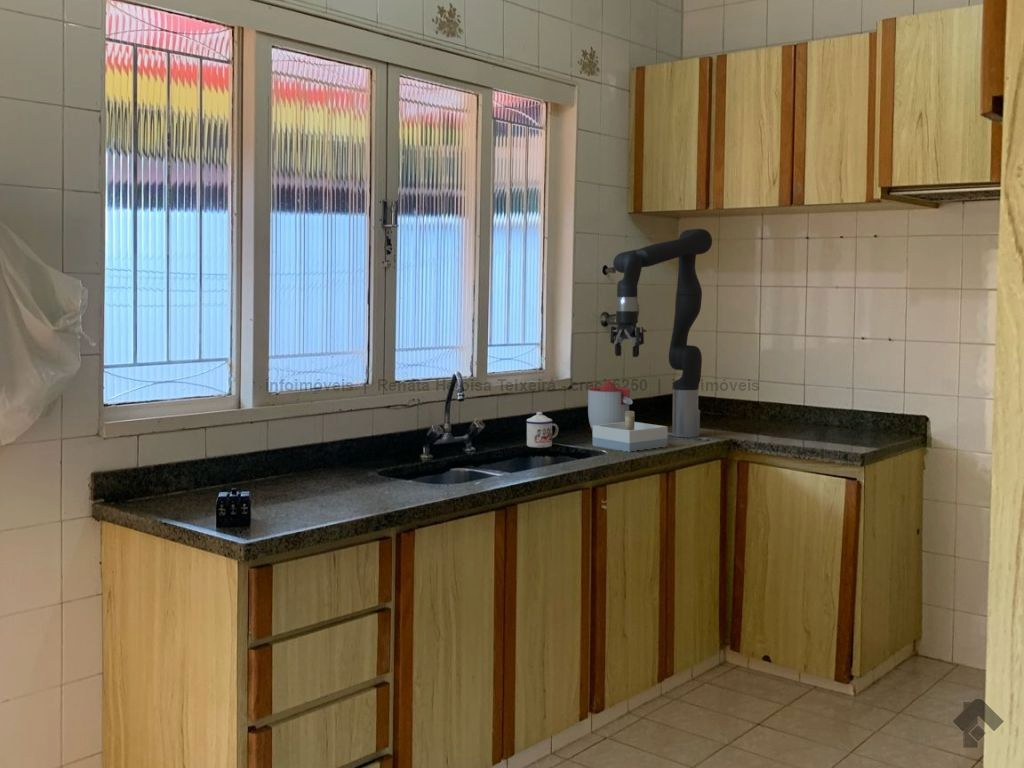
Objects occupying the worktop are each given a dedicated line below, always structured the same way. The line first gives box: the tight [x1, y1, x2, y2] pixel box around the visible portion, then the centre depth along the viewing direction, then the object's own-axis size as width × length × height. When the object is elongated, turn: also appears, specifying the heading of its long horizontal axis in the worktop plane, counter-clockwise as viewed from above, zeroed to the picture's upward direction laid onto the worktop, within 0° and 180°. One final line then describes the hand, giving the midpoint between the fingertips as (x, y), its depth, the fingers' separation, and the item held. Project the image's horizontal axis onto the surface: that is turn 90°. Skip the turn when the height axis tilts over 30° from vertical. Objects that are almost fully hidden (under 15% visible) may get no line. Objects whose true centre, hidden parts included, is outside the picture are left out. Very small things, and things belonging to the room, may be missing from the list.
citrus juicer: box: [587, 380, 634, 433], centre depth 384 cm, size 16×17×20 cm
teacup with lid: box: [525, 411, 559, 449], centre depth 357 cm, size 12×9×12 cm
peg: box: [625, 410, 635, 430], centre depth 354 cm, size 3×3×12 cm
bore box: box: [592, 421, 669, 453], centre depth 355 cm, size 18×18×7 cm
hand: (626, 356), depth 364 cm, fingers open, 8 cm apart
